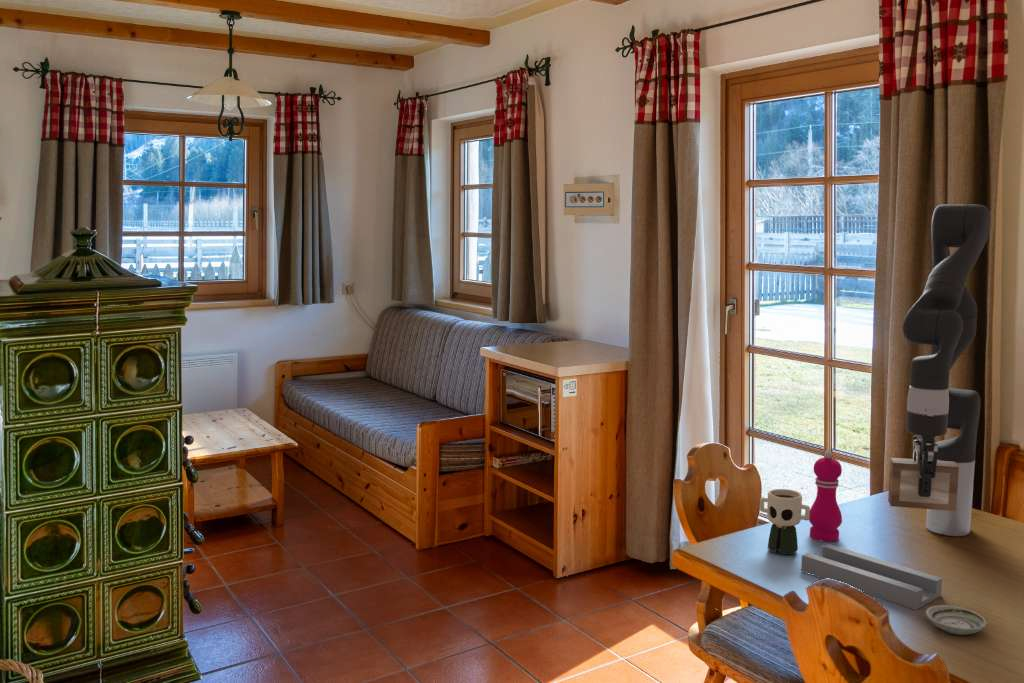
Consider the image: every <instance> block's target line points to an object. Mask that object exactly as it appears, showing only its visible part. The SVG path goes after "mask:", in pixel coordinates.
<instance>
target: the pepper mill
mask: <svg viewBox="0 0 1024 683" xmlns="http://www.w3.org/2000/svg"><path fill="white" fill-rule="evenodd" d="M823 455H824V457H820V458H818V459H817V460H816V461H815V462H814V464H813V473H814V474H815V476H816V477H815V479H814V480H815V483H814V484H815V485H816V489H817V491H816V497H815V500H814V501H813V504H812V505H811V507H810V518H809V520H808V522H809V523H810V524H811V527H810V528H809V537H811V538H812V539H814V540H816V541H821V542H828V543H829V542H836V541H838V540H839V539H840V530H839V529H838V528H839V527H840V526H841V524H842V523H843V515H842V512H841V509H840V507H839V504H838V501H837V497H836V496H837V488H838V487H839V479H838V478H840V477H841V474H842V472H843V471H842V470H843V468H842V464H841V463H840V462H839V461H838V460H837V459H836V458H833V452H831V451H829V450H827V451H825V452H824V454H823Z"/></svg>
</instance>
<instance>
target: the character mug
mask: <svg viewBox="0 0 1024 683" xmlns="http://www.w3.org/2000/svg"><path fill="white" fill-rule="evenodd" d="M765 503H767V508H765ZM810 509H811V507H810V506H809V505H808V504H807V505H806V504H803V494H802V493H801V492H799V491H797V490H793V489H787V488H776V489H775V488H774V489H770V490H768V492H767V497H760V499H759V511H760V512H761V513H766V517H767V520H768V522H770V523H772V524H771V527H770V531H769V537H768V543H767V549H768V550H769V551H771V552H773V553H777V550H779V554H781V555H783V554H784V555H789V554H790V555H791V554H794V553H796V552H797V551H798V548H799V547H798V546H799V544H798V535H797V534H798V533H797V528H796V526H797V525H799V524H800V523H801V520H803V521H809V518H810ZM802 510H804V515H803V514H802Z"/></svg>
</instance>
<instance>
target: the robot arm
mask: <svg viewBox="0 0 1024 683" xmlns="http://www.w3.org/2000/svg"><path fill="white" fill-rule="evenodd" d="M931 216H932V217H931V227H930V228H931V229H930V230H931V236H930V237H931V251H932V252H931V258H932V270H931V272H930V273H929V275H928V278H927V280H926V283H925V287H924V289H923V292H922V295H921V296H920V297H919V298H918V299H917V300H916V302H915V303H914V304H913V305H912V306H911V307H910V309H909V310H908V311H907V313H906V315H905V316H904V319H903V323H902V333H903V335H904V338H905V339H906V340H907V341H908V342H909V343H911V344H917V345H927V346H928V345H929V346H930V354H929V355H921V356H916V357H914V358H913V359H911V364H910V376H909V387H908V394H907V400H906V416H905V430H906V432H908V433H910V434H913V437H912V449H913V450H912V459H914V460H916V464H917V466H919V474H918V476H919V486H918V495H919V496H920V497H930V495H931V481H932V479H933V478H935V472H936V465H937V461H952V462H955V463H956V464H957V465H958V466H959V473H958V488H957V502H956V511H947V510H934V509H926V517H925V520H926V522H925V528H926V529H927V530H928V531H930V532H933V533H935V534H939V535H942V534H943V535H944V536H951V537H963V536H968V535H969V534H970V533H971V521H972V509H973V493H974V480H975V467H976V466H975V464H976V451H977V450H976V449H977V436H978V429H979V428H978V427H979V421H980V415H981V397H980V394H979V392H977V391H976V390H973V389H972V390H971V389H965V388H963V389H962V388H953V387H949V386H950V374H951V373H950V372H951V369H952V368H953V366H954V365H955V363H956V362H957V361H958V360H959V358H960V357H961V356H962V355H963V354H964V352H965V351H966V350H967V349H968V348H969V347H970V345H971V344H972V342H973V341H974V339H975V337H976V335H977V322H978V321H977V320H978V306H977V302H976V300H975V298H974V297H973V294H972V293H971V291H970V289H969V288H968V287H967V285H966V283H967V280H968V278H969V276H970V273H971V271H972V270H973V268H974V267H975V264H976V263H977V261H978V259H979V257H980V255H981V254H982V251H983V249H984V247H985V245H986V243H987V241H988V238H989V234H990V228H991V214H990V210H989V208H988V207H987V206H986V205H983V204H975V203H973V204H971V203H970V204H967V203H964V204H963V203H962V204H959V203H957V204H955V203H953V204H949V203H948V204H939V205H937V206H936V207H935V208H934V210H933V212H932V215H931ZM950 248H957V250H955V251H954V252H952V253H951V251H950ZM948 429H949V430H950V429H952V430H957V431H958V430H959V431H960V432H961V433H960V434H959V435H957V436H955V437H952V438H950V439H944V440H939V441H938V440H937V441H936V440H935V438H936V437H943V436H945V435H946V434H947V433H948ZM920 460H921V461H922V462H921V461H920ZM926 468H930V472H925V469H926Z"/></svg>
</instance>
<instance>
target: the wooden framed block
mask: <svg viewBox="0 0 1024 683" xmlns="http://www.w3.org/2000/svg"><path fill="white" fill-rule="evenodd" d="M920 461H921V460H920ZM889 462H890V463H889V464H890V465H889V479H888V480H889V481H888V498H887V501H888V503H889V505H890V507H897V508H908V509H909V508H910V509H924V510H927V509H934V510H947V511H956V502H957V488H958V473H959V466H958V465H957V464H956V463H955V462H952V461H937V465H936V472H935V478H933V479H932V481H931V495H930V497H920V496H919V495H918V486H919V476H918V474H919V466H917V464H916V460H914V459H913V458H903V457H902V458H901V457H890V460H889ZM921 462H922V461H921ZM925 472H930V468H926V469H925Z"/></svg>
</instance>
